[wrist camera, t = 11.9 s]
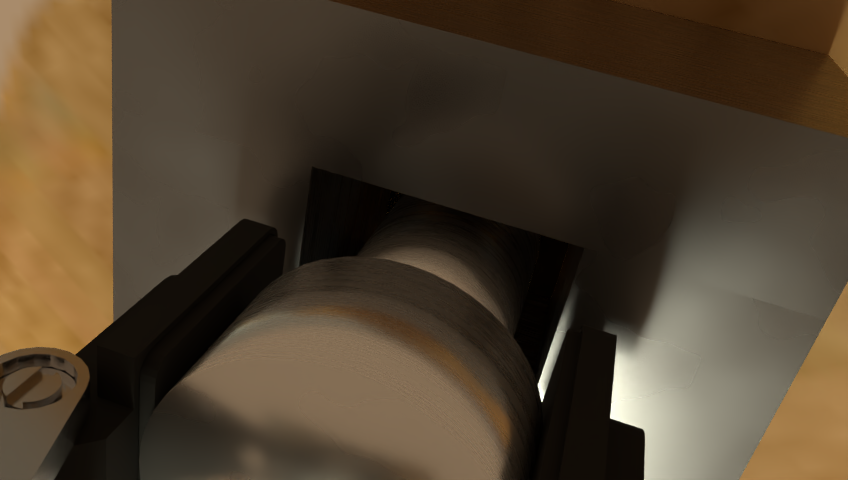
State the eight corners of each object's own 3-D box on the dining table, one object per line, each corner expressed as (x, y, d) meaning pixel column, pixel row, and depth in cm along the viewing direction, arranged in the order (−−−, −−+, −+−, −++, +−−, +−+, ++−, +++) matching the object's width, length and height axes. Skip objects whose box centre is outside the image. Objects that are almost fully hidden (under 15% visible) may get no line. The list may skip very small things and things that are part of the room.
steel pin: (609, 165, 15) (565, 446, 8) (544, 358, 17) (463, 712, 10) (378, 100, 16) (141, 304, 8) (345, 294, 18) (136, 584, 11)
